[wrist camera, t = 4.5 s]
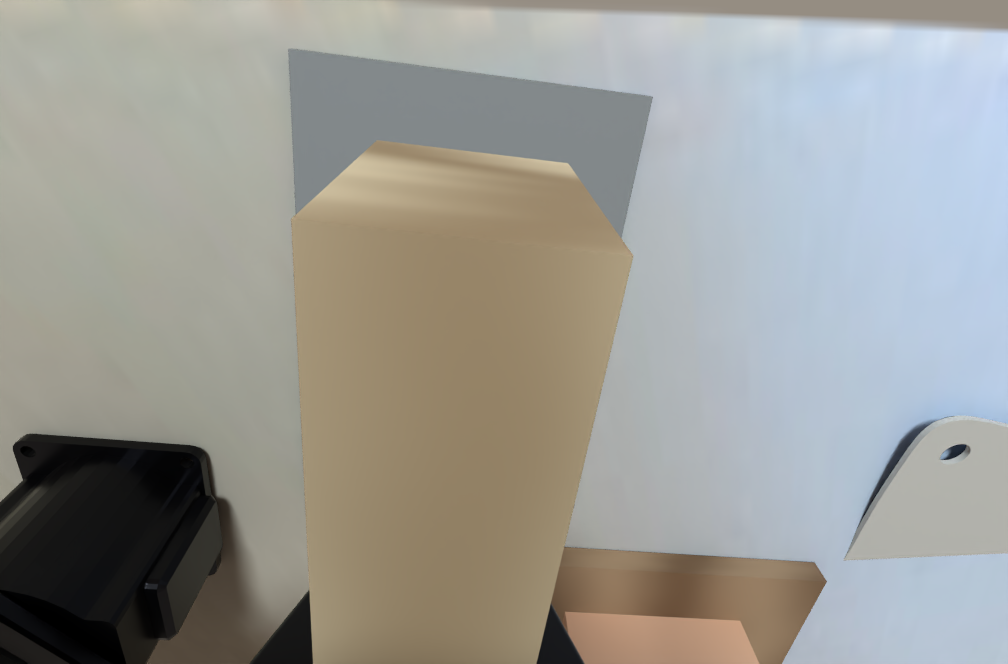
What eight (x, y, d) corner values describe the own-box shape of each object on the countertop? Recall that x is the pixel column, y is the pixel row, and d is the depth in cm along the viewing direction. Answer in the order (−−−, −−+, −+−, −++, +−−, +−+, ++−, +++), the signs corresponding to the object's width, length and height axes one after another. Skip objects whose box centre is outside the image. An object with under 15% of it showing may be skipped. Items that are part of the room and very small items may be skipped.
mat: (311, 513, 23) (309, 519, 23) (291, 48, 15) (288, 48, 15) (553, 529, 24) (554, 534, 23) (649, 96, 16) (652, 97, 16)
